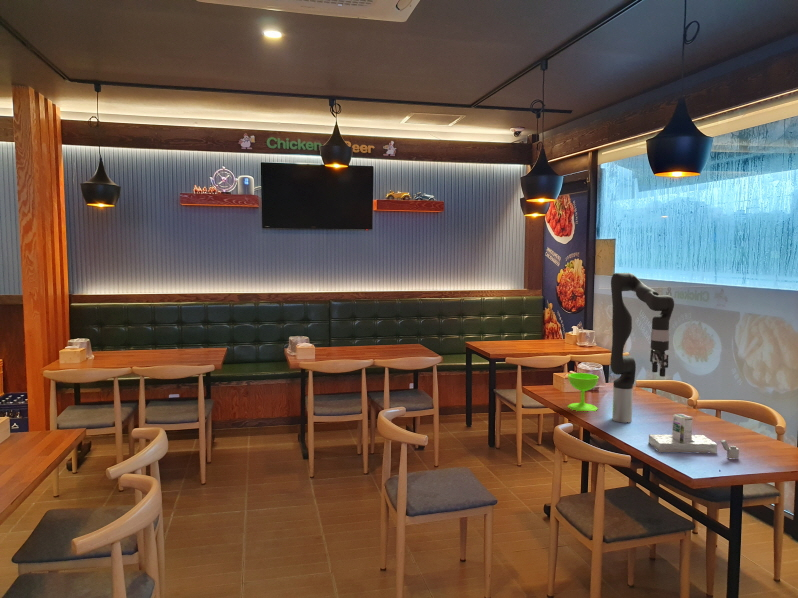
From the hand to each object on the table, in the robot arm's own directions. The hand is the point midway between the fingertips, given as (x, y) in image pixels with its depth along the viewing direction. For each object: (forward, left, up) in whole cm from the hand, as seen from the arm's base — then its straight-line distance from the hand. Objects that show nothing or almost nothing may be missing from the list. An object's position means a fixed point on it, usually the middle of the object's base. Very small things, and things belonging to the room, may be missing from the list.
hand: (658, 374), depth 260 cm
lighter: (+25, +20, -30) cm, 44 cm away
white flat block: (+13, +6, -30) cm, 33 cm away
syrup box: (+13, +6, -30) cm, 33 cm away
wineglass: (-50, -20, -30) cm, 62 cm away
